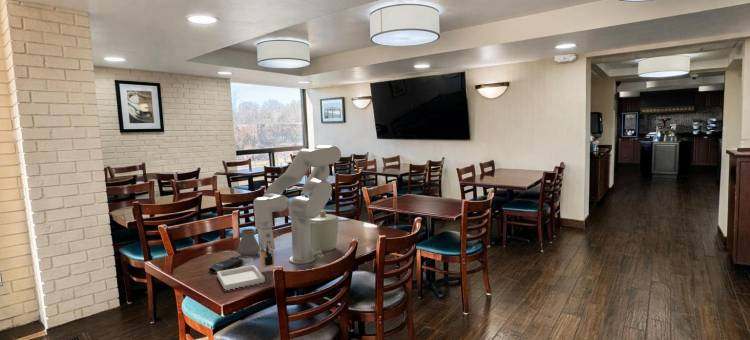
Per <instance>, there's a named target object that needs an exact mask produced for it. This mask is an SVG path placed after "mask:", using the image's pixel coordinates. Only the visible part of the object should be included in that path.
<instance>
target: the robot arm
mask: <svg viewBox="0 0 750 340" xmlns="http://www.w3.org/2000/svg"><path fill="white" fill-rule="evenodd" d="M341 157H342V152H341V149H340V148H339V147H338V146H336V145H326V144H325V145H323V144H322V145H316V146H314V147H313V148H301V149H300V150H299V151H298V152H297V153H296V154H295V157H294V158H293V159H292V161H291V163H290V164H289V166H288V167H287V168H286V170H285V172H284V173H282V174H281V175H279V176H278V178H276V179H275V180H274V181H273V182H272V183H271V184H270V185H269V186H268V187H267V188H266V191H265V192H264V194H263V196H258V197H256V198H254V199H253V213H254V222H255V223H254V224H255V230H256V231H258V232H257V238H258V240H257V242H258V244H259V246H260V250H261V249H263V250H264V251H265V256H266V257H265V265H266V266H268V265H272V264H273V260H272V250H275V249H276V248H275V247H276V246H275V240H274V239H275V238H274V233H273V228H274V223H273V213H274V212H275V213H276V212H283V211H285V210H286V209H288V211H289V217H290V222H291V247H292V249H291V251H292V256H290V257H289V259H288V261H289V262H290V263H292V264H296V265H301V264H302V265H304V264H308V263H312V262H314V261H315V260H316V255H321V254H322V252H321V250H313V249H312V237H311V221H310V218H311V219H313V218H316V217H317V216H318V215H319V214H320V213H321V211H322V210H324V208H325V207H326V205H327V203H328V201H329V199H330V197H331V195H332V192H333V187H332V184H331V182H329V181H328V178H329V177H330V170H331V169H330V166H329V165H333V164H335V163H337V162H339V161H340V159H341ZM311 167H312V168H313V169H312V171H311V173H310V174H309V176H308V178H307V179H306V180H305V182H304V184H303V186H302V189H301V190H302V194H303V195H304V196H300V195H299V196H294V197H293V198H291V200H289V199H288V197H287V196H286V195H284V194H282V193H283V192H284V191H285V190H286V189H289V188H290V187H293V186H295V185H297V184H299V183H300V182H301V181H302V180H303V179H304V177H305V176H306V174H307V172H308V171H309V168H311ZM266 249H268V250H266ZM267 251H268V252H267Z"/></svg>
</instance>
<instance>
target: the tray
mask: <svg viewBox="0 0 750 340" xmlns="http://www.w3.org/2000/svg"><path fill="white" fill-rule="evenodd" d="M216 274H217V275H216V276H217V279H218V281H219V282H220V284H221V287H222V288H223V290H224V289H225V290H224V291H225V292H227V291H226V290H228V291H231V290H230V289H233V290H236V289H235V288H238V289H240V288H239V287H243V288H246V287H245V286H248V287H250V286H249V285H253V286H255V285H254V284H258V285H260V284H259V283H263V282H265V283H266V278H265V275H264V274H262V272H261V271H260V269H258V268H257V266H256V265H253V264H252V265H247V266H246V265H245V266H241V267H235V268H232V269H229V270H224V271H218V272H217V273H216ZM263 284H264V283H263Z"/></svg>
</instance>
